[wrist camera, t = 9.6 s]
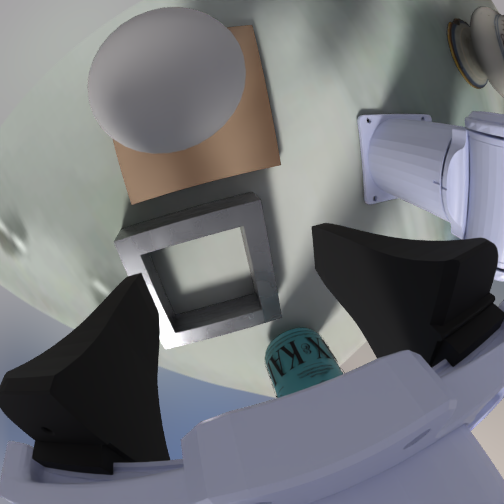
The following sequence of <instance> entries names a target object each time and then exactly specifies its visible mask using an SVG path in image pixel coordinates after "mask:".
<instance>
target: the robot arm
mask: <svg viewBox="0 0 504 504" xmlns="http://www.w3.org/2000/svg"><path fill="white" fill-rule="evenodd" d="M367 118H368V119H369V122H368V123H367ZM421 118H422V120H421ZM357 122H358V130H359V138H360V147H361V157H362V169H363V184H364V200H365V203H367V204H369V205H371V204H375V203H379V202H383V201H387V200H392V199H396V198H400V199H402V200H404V201H406V202H409V203H411V204H413V205H415V206H417V207H419V208H422V209H424V210H426V211H428V212H430V213H432V214H434V215H436V216H438V217H440V218H442V219H444V220H446V221H448V222H450V223H451V233H452V234H453V235H455V236H457V237H458V238H460V239H462V240H450V241H425V240H410V239H402V238H394V237H388V236H383V235H378V234H373V233H369V232H364V231H360V230H356V229H352V228H348V227H344V226H340V225H335V224H329V223H323V224H319V225H316V226H312V236H313V247H314V259H315V269H316V271H317V272H318V274H319V276H320V277H321V279H322V281H323V282H324V284H325V285H326V287H327V288H328V289H329V290H330V292H331V293H332V294H333V295H334V296H335V298H336V299H337V300H338V301H339V302H340V304H341V305H342V306H343V307H344V308H345V310H346V311H347V312H348V313H349V315H350V316H351V317H352V318H353V320H354V321H355V322H356V324H357V325H358V326H359V328H360V330H361V331H362V333H363V335H364V336H365V338H366V339H367V341H368V343H369V345H370V346H371V348H372V350H373V352H374V354H375V355H376V357H377V359H376V360H374V361H371V362H369V363H367V364H365V365H363V366H361V367H359V368H356V369H354V370H352V371H349V372H347V373H345V374H342V375H340V376H337V377H335V378H333V379H330V380H327V381H325V382H322V383H320V384H317V385H314V386H312V387H309V388H306V389H303V390H300V391H298V392H295V393H292V394H289V395H286V396H282V397H279V398H276V399H273V400H270V401H266V402H263V403H259V404H256V405H252V406H248V407H244V408H241V409H237V410H233V411H229V412H226V413H224V414H221V415H218V416H216V417H213V418H210V419H207V420H204V421H201V422H200V423H199V424H197V425H196V426H195V427H194V428H193V429H192V430H191V431H190V432H189V433H188V434H187V435H185V436H184V437H183V438H182V439H181V446H182V455H183V459H178V460H170V457H169V454H168V450H167V446H166V441H165V436H164V431H163V426H162V420H161V413H160V407H159V398H158V386H157V373H158V356H159V341H160V320H159V311H158V309H157V307H156V305H155V302H154V300H153V298H152V296H151V294H150V291H149V289H148V287H147V285H146V282H145V280H144V278H143V275H142V273H138V274H134V275H131V276H128V277H126V278H125V279H124V280H123V281H122V282H121V283H120V284H119V285H118V286H117V287H116V288H115V289H114V290H113V291H112V292H111V293H110V294H109V296H108V297H107V298H106V299H105V300H104V301H103V302H102V303H101V304H100V305H99V306H98V307H97V308H96V309H95V310H94V311H93V312H92V313H91V314H90V316H89V317H88V318H87V319H85V320H84V321H83V322H82V323H81V324H80V325H79V326H78V327H77V328H76V329H74V330H73V331H72V332H71V333H70V334H69V335H67V336H66V337H65V338H63V339H62V340H61V341H59V342H58V343H57V344H56V345H54V346H53V347H51V348H50V349H48V350H47V351H45V352H44V353H42V354H41V355H39V356H37V357H35V358H34V359H32V360H30V361H28V362H27V363H25V364H23V365H21V366H19V367H17V368H15V369H13V370H11V371H8V372H7V373H6V374H5V375H4V378H3V380H2V382H1V385H0V408H1V409H2V411H3V412H4V413H5V414H6V416H7V417H8V418H9V419H10V420H11V421H13V422H14V423H15V424H16V425H17V426H18V427H19V428H20V429H22V430H23V431H24V432H25V433H26V434H28V435H29V436H30V437H31V438H33V439H34V440H35V445H34V447H32V446H30V445H27V444H24V443H18V442H14V441H8V444H7V448H6V453H5V458H4V463H3V469H2V475H1V482H0V497H2V498H4V499H5V500H7V501H9V502H11V503H13V504H504V479H503V478H502V476H501V475H500V473H499V472H498V470H497V469H496V467H495V466H494V464H493V463H492V461H491V460H490V458H489V457H488V455H487V454H486V452H485V451H484V450H483V448H482V447H481V445H480V444H479V442H478V441H477V440H476V438H475V437H474V435H473V434H472V433H471V430H472V429H474V428H475V427H476V426H477V425H478V424H479V423H480V422H481V421H482V420H483V419H484V418H485V417H486V416H487V415H488V414H489V413H490V412H491V411H492V410H493V409H494V408H495V406H496V405H497V404H498V403H499V402H500V401H501V400H502V399H503V398H504V300H503V301H502V302H501V304H500V305H499V307H497V306H496V305H495V304H493V302H494V301H495V296H494V295H492V294H491V293H490V289H491V286H492V283H493V280H498V281H503V282H504V114H498V113H491V112H482V111H472V112H471V113H470V115H469V117H466V118H465V127H462V126H456V125H450V124H443V123H436V122H432V118H431V116H430V115H428V114H373V115H360V116H359V117H358V119H357ZM374 196H375V199H374V200H373V197H374Z"/></svg>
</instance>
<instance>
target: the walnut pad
mask: <svg viewBox="0 0 504 504" xmlns="http://www.w3.org/2000/svg"><path fill="white" fill-rule="evenodd" d="M227 29H229V30H230V31H231V32H232V34H233V35H234V37H235V38H236V40H237V41H238V43H239V45H240V48H241V50H242V53H243V55H244V62H245V69H246V77H245V87H244V90H243V94H242V97H241V100H240V102H239V104H238V106H237V108H236V110H235V112H234V113H233V115H232V116H231V117H230V118H229V120H228V121H227V122H226V123H225V125H224V126H223V127H222V128H220V129H219V130H218V131H217V132H216V133H215V134H214V135H212V136H211V137H209V138H208V139H206V140H204V141H203V142H201V143H199V144H197V145H195V146H192V147H190V148H187V149H185V150H181V151H176V152H172V153H158V154H152V153H146V152H139V151H136V150H133V149H131V148H128V147H125V146H124V145H122V144H120V143H119V142H117V141H116V140H114V139H113V142H114V146H115V150H116V154H117V157H118V161H119V165H120V168H121V172H122V175H123V178H124V182H125V185H126V188H127V192H128V195H129V198H130V201H131V204H132V205H133V204H136V203H139V202H142V201H145V200H148V199H152V198H155V197H158V196H161V195H165V194H168V193H171V192H175V191H178V190H182V189H185V188H189V187H192V186H196V185H199V184H203V183H207V182H211V181H215V180H218V179H222V178H226V177H230V176H235V175H239V174H243V173H247V172H252V171H256V170H260V169H265V168H270V167H274V166H279V165H281V162H280V156H279V150H278V145H277V139H276V134H275V128H274V123H273V118H272V113H271V108H270V103H269V98H268V93H267V88H266V83H265V78H264V74H263V69H262V65H261V60H260V56H259V51H258V47H257V43H256V38H255V34H254V30H253V26H252V25H245V26H236V27H227Z"/></svg>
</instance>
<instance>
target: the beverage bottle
mask: <svg viewBox="0 0 504 504" xmlns="http://www.w3.org/2000/svg"><path fill="white" fill-rule="evenodd" d="M324 341H325V340H322V338H321V337H320V335H319V333H318V334H317V332H315V331H314V330H312V329H308V328H296V329H292V330H289V331H286V332H284V333H282V334H281V335H279V336H278V337H276V338H275V339H274V340H273V341H272V342H271V343H270V344H269V346H268V348H267V350H266V355H265V361H266V364H265V365H267V367H268V369H267V371H269V373H270V376H271V377H270V378H271V379H272V382H273V385H274V388H275V390H276V393H277V394H276V395H277V396H276V397H277V398H279V397H282V396H286V395H289V394H292V393H295V392H298V391H300V390H303V389H306V388H309V387H312V386H314V385H317V384H320V383H322V382H325V381H327V380H330V379H333V378H335V377H337V376H340V375H342V374H343V373H342V371H341V370H340V367H339V366H338V364H337V362H336V361H337V360H336V358H335V357H334V356H332V355H333V354H332V353H331V351H330V350H329V346H327V345H326V344H325V342H326V341H325V342H324ZM334 358H335V359H334ZM335 360H336V361H335ZM265 361H264V362H265ZM265 367H266V366H265ZM269 373H268V375H269ZM273 385H272V386H273ZM274 393H275V392H274Z"/></svg>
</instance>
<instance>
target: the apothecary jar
mask: <svg viewBox="0 0 504 504" xmlns="http://www.w3.org/2000/svg"><path fill="white" fill-rule="evenodd" d="M447 36H448V43H449V47H450V51H451V54H452V57H453V59H454V61H455V64H456V66H457V68H458V70H459V71H460V73H461V74H462V76H463V77H464V79H465V80H466V81H467V82H468V83H469V84H470V85H471V86H472V87H474V88H477V89H481V88H483V87H484V86H485V85H486V84H487V81H489V82H490V83H491V85H492V86H493V87H494V89H495V90H496V91H497V92H498V93H499V94H500V95H501V96H502V97H503V98H504V15H501V14H499V13H498V12H497V11H495V10H493V9H491V8H488V7H479V8H477V9H476V10H475V11H474V12H473V14H472V17H471V21H470V26H469V25H468V24H467V23H466V22H464V21H463V20H460V19H456V18H455V19H454V22H453V23H451V22H449V24H448V28H447Z"/></svg>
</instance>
